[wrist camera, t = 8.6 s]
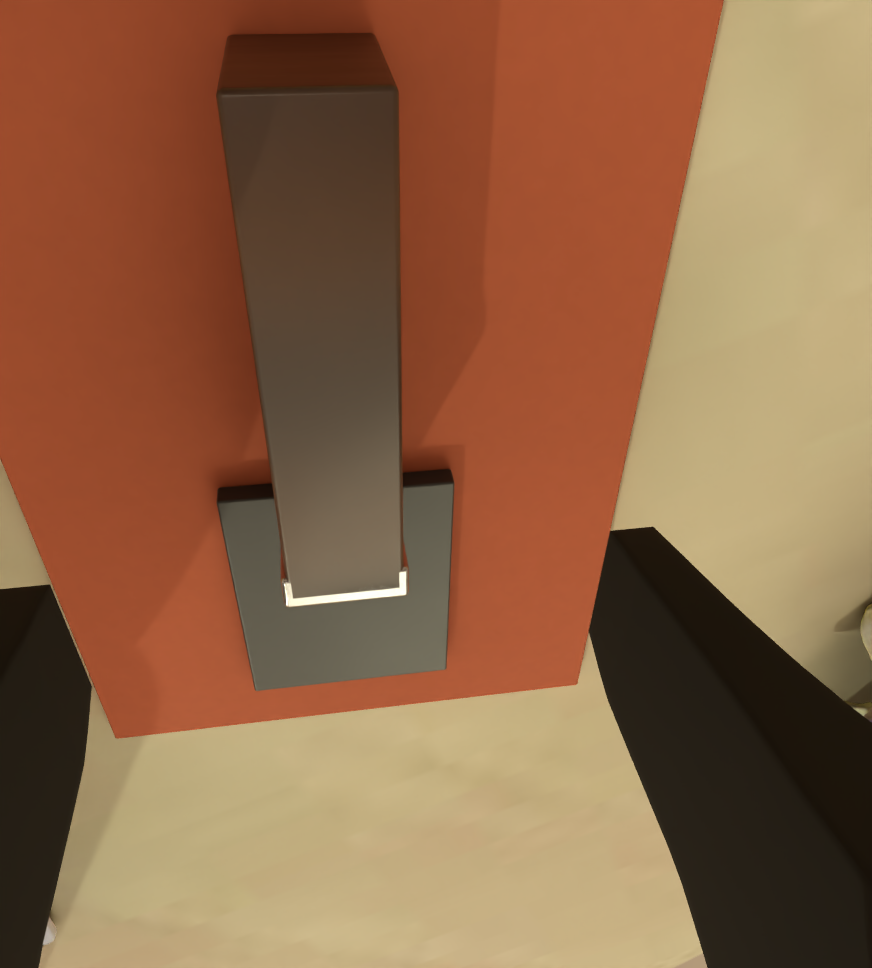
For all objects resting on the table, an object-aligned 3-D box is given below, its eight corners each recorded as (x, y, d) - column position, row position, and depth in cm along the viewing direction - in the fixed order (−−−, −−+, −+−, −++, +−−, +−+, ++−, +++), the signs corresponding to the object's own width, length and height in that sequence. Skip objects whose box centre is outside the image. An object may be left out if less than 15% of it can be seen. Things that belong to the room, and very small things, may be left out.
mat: (573, 674, 24) (577, 685, 24) (117, 726, 22) (115, 739, 22) (758, -217, 11) (771, -218, 11) (-275, -248, 10) (-293, -249, 9)
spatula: (443, 655, 22) (463, 754, 20) (255, 676, 21) (252, 780, 19) (468, 30, 12) (512, 82, 10) (126, 34, 12) (91, 92, 9)
